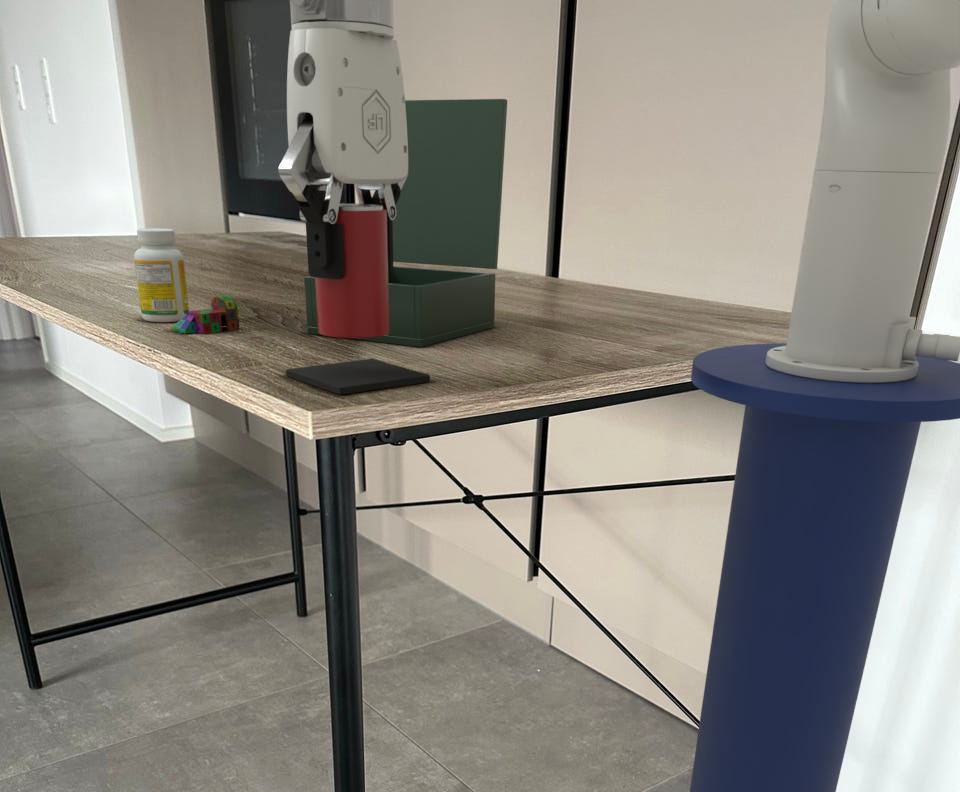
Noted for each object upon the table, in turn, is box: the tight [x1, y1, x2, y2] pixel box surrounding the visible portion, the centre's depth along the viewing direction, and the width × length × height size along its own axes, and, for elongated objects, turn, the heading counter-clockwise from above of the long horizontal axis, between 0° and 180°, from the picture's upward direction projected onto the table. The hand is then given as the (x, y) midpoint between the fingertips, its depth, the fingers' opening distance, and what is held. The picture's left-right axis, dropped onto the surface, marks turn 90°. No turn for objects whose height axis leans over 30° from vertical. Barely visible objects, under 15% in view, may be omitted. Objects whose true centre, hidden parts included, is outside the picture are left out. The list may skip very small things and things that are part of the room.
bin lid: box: [391, 98, 508, 270], centre depth 106 cm, size 17×15×5 cm
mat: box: [285, 358, 431, 396], centre depth 81 cm, size 9×9×1 cm
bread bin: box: [303, 265, 496, 348], centre depth 103 cm, size 16×15×6 cm
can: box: [315, 202, 390, 339], centre depth 77 cm, size 6×6×10 cm
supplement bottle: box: [133, 227, 190, 323], centre depth 107 cm, size 5×5×10 cm
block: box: [170, 295, 241, 335], centre depth 102 cm, size 6×4×3 cm
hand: (352, 272), depth 77 cm, fingers closed on can, 6 cm apart
